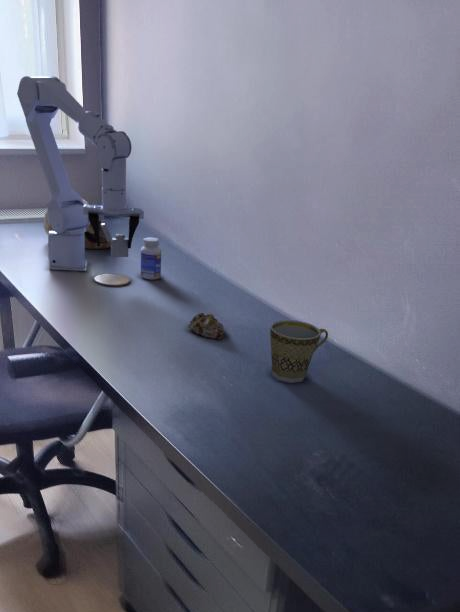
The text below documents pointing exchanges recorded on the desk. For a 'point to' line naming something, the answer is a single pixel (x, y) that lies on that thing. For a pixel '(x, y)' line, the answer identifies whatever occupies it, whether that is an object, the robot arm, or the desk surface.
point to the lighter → (116, 242)
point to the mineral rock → (207, 326)
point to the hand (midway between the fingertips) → (113, 246)
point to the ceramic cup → (293, 348)
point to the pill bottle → (150, 259)
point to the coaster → (112, 279)
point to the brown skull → (88, 235)
